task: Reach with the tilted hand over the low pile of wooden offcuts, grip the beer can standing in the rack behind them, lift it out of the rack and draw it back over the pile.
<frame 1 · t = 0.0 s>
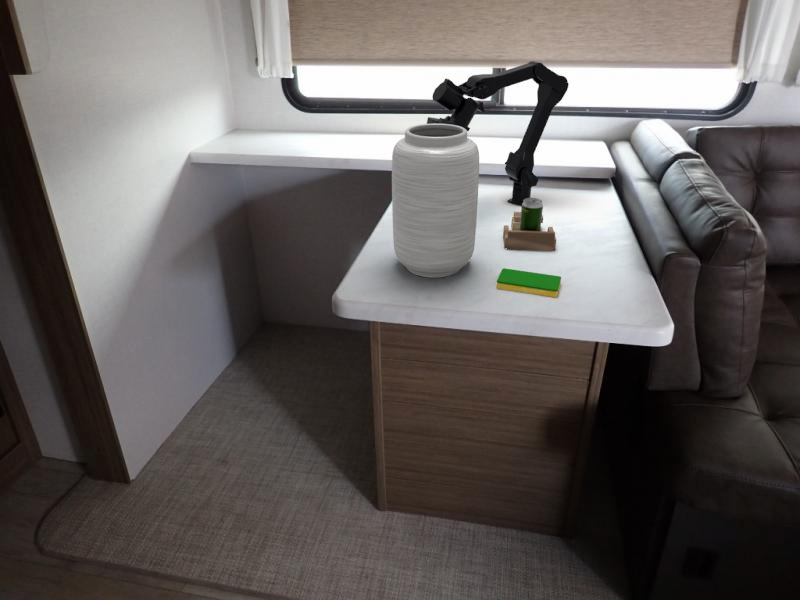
hand: (433, 167, 168), 15 cm above the table, tool tilted 35°, fingers open, 9 cm apart
dish sponge: (528, 288, 135), on the table
rack: (528, 243, 156), on the table
beer can: (528, 243, 156), resting in rack
vase: (433, 266, 145), on the table
offcut stack: (525, 229, 164), on the table
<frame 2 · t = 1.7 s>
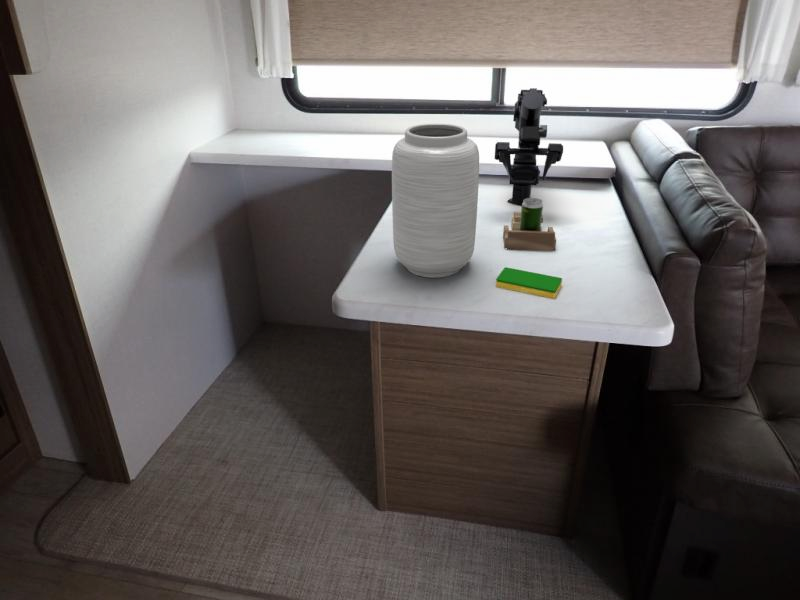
hand: (526, 178, 161), 14 cm above the table, tool tilted 45°, fingers open, 9 cm apart
nothing on the table moved.
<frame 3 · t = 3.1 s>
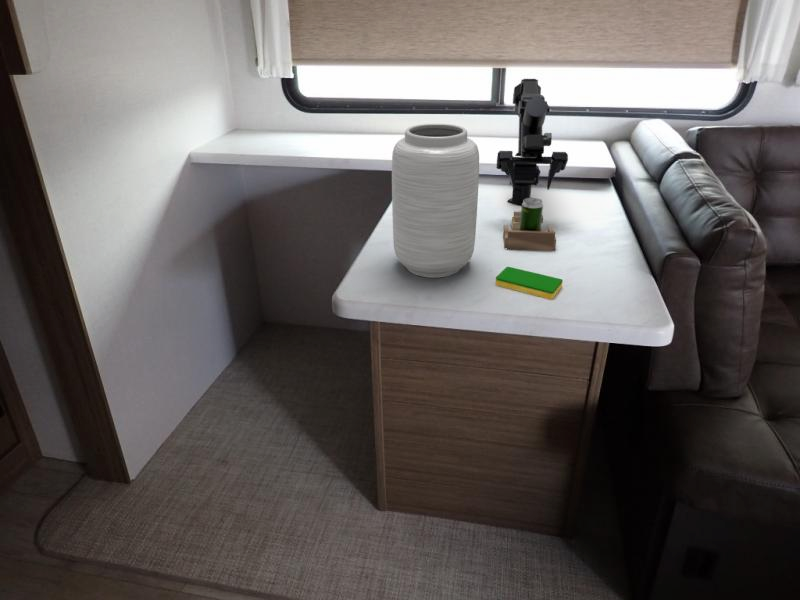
hand: (531, 188, 156), 13 cm above the table, tool tilted 45°, fingers open, 9 cm apart
nothing on the table moved.
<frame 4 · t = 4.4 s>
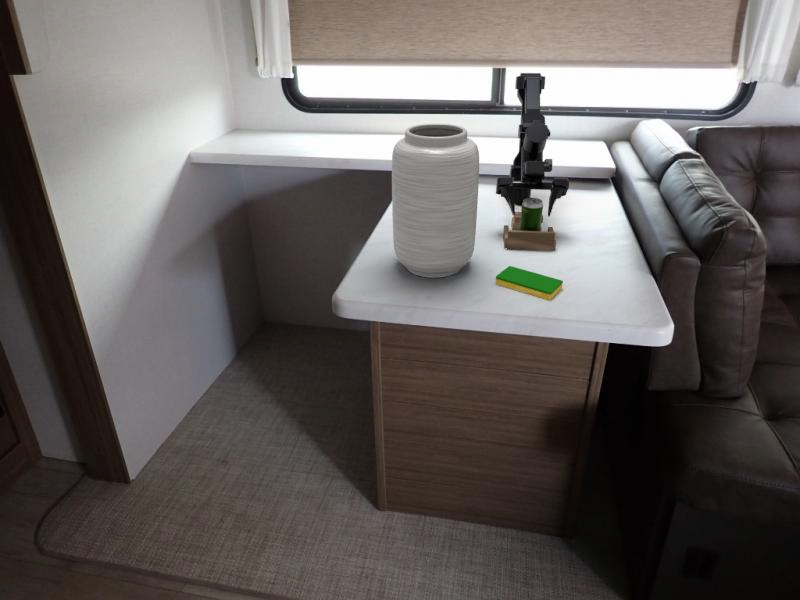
hand: (531, 215, 152), 8 cm above the table, tool tilted 45°, fingers open, 9 cm apart
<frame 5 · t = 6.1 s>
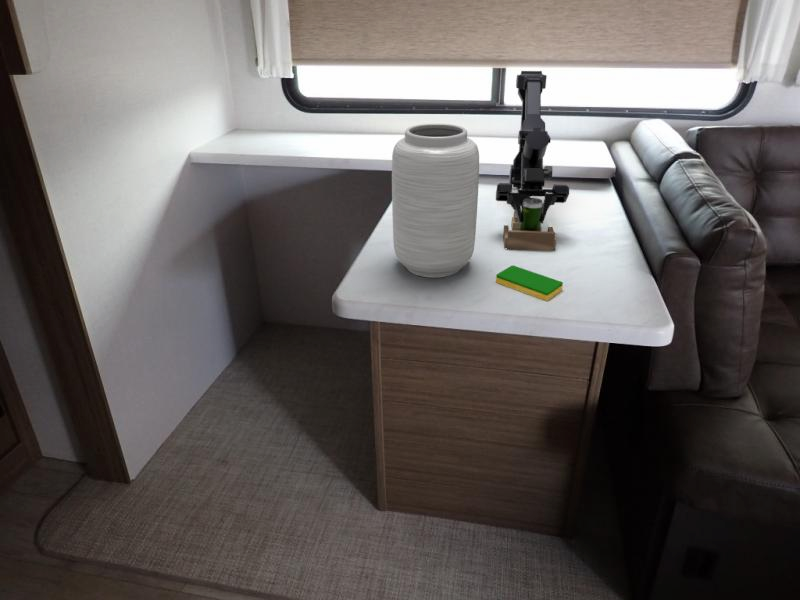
hand: (531, 222, 152), 7 cm above the table, tool tilted 45°, fingers closed on beer can, 5 cm apart
beer can: (528, 243, 156), resting in rack, touching gripper
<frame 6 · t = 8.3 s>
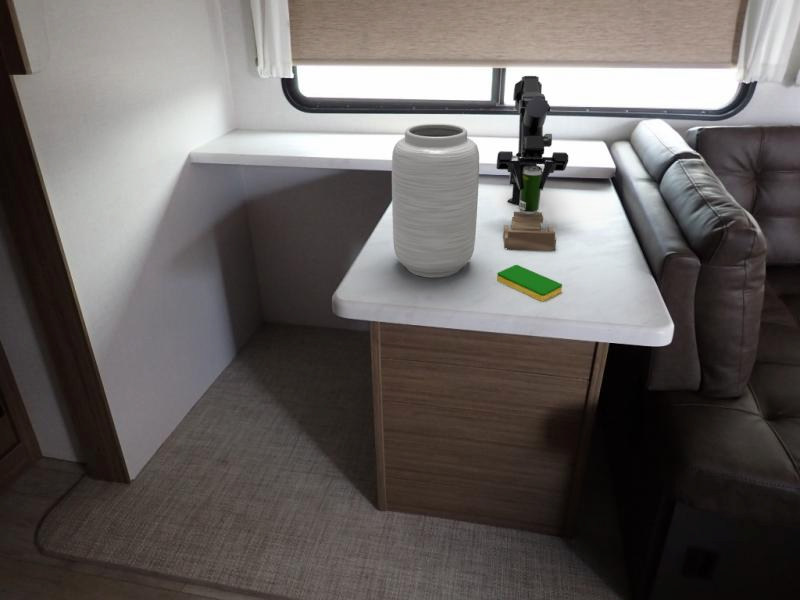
hand: (531, 189, 155), 13 cm above the table, tool tilted 45°, fingers closed on beer can, 5 cm apart
beer can: (528, 211, 160), point 6 cm above the table, touching gripper
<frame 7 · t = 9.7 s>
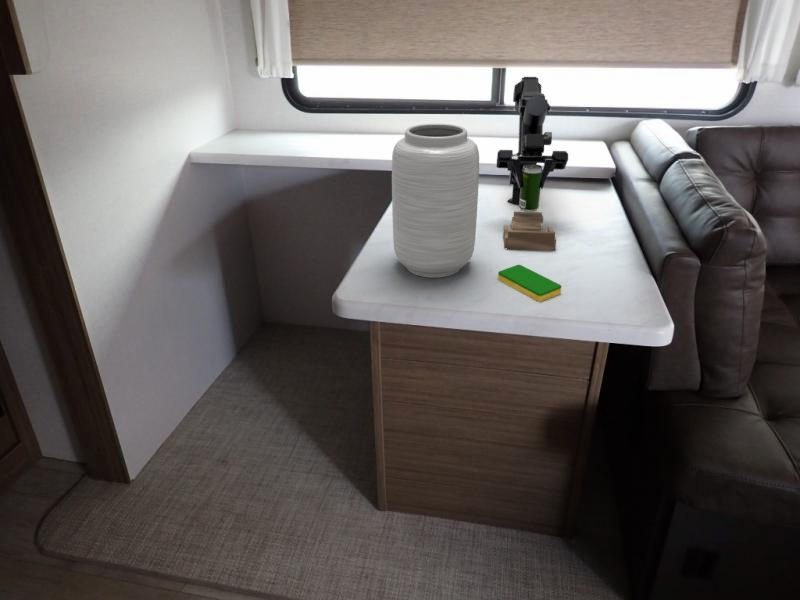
hand: (531, 187, 155), 13 cm above the table, tool tilted 45°, fingers closed on beer can, 5 cm apart
beer can: (528, 209, 160), point 7 cm above the table, touching gripper
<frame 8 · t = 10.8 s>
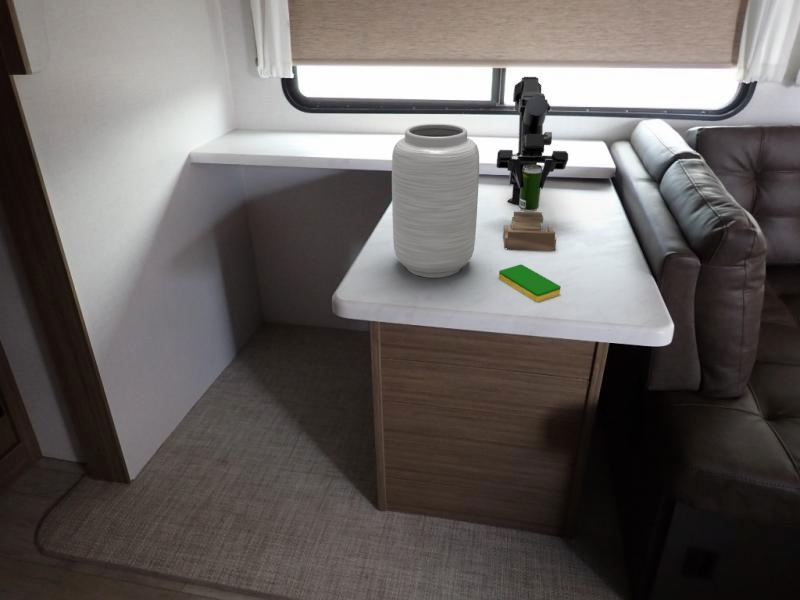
hand: (531, 187, 155), 13 cm above the table, tool tilted 45°, fingers closed on beer can, 5 cm apart
beer can: (528, 209, 160), point 7 cm above the table, touching gripper
at the end: the gripper is holding beer can; beer can point 6.5 cm above the table; beer can touching gripper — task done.
